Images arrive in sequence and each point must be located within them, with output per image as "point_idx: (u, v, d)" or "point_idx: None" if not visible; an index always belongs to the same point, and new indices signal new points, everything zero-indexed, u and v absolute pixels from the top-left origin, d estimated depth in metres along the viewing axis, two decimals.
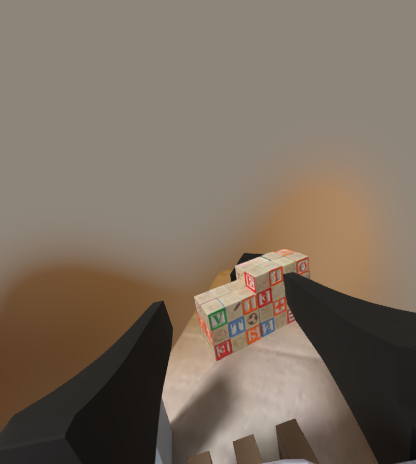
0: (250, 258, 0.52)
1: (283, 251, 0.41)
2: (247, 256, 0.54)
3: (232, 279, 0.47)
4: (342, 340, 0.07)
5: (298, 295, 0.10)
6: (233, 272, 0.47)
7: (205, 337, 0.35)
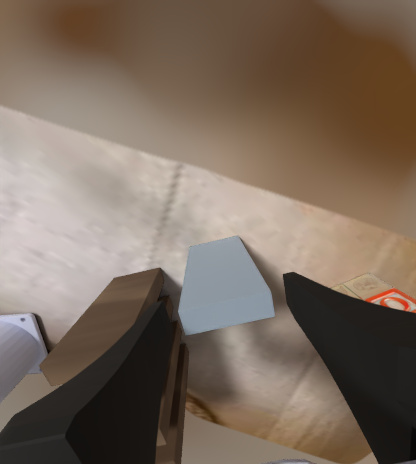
0: None
1: None
2: None
3: None
4: (342, 340, 0.07)
5: (298, 295, 0.10)
6: None
7: (361, 288, 0.20)
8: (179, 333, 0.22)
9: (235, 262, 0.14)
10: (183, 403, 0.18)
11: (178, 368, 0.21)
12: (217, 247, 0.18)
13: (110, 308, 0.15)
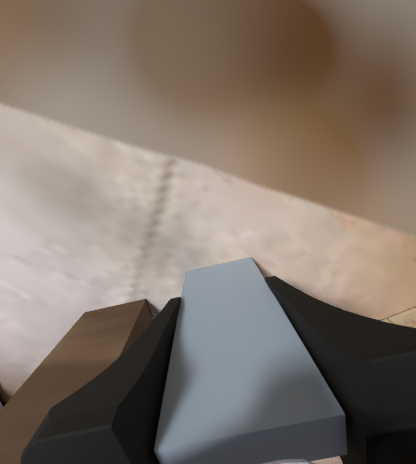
0: None
1: None
2: None
3: None
4: (311, 346, 0.07)
5: (277, 300, 0.10)
6: None
7: None
8: None
9: (255, 312, 0.09)
10: None
11: None
12: (224, 277, 0.13)
13: (62, 378, 0.10)
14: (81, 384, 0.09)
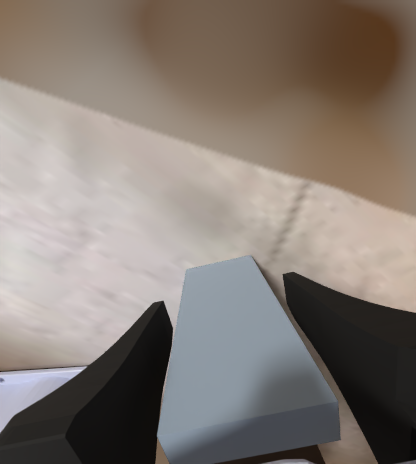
0: None
1: None
2: None
3: None
4: (342, 340, 0.07)
5: (298, 295, 0.10)
6: None
7: None
8: None
9: (254, 308, 0.09)
10: None
11: None
12: (224, 274, 0.13)
13: None
14: None
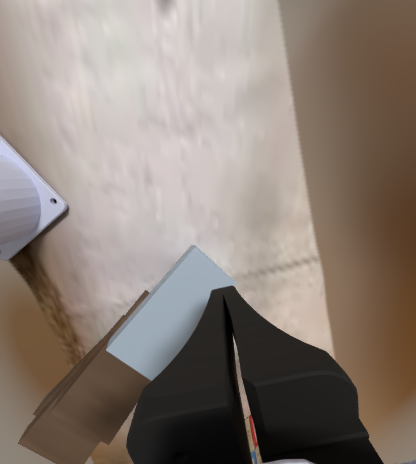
0: None
1: None
2: None
3: None
4: None
5: (227, 310, 0.10)
6: None
7: None
8: None
9: (183, 331, 0.16)
10: None
11: None
12: (204, 285, 0.17)
13: (121, 368, 0.16)
14: (130, 384, 0.16)
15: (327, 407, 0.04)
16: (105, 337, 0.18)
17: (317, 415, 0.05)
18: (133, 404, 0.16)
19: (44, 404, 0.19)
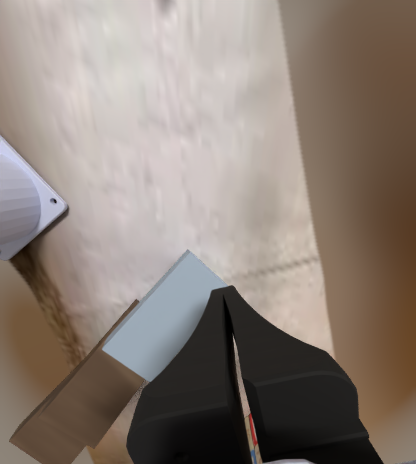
0: None
1: None
2: None
3: None
4: None
5: (227, 310, 0.10)
6: None
7: None
8: None
9: (176, 334, 0.16)
10: None
11: None
12: (198, 290, 0.17)
13: (108, 377, 0.16)
14: (116, 392, 0.16)
15: (327, 407, 0.04)
16: None
17: (317, 415, 0.05)
18: (119, 411, 0.16)
19: None
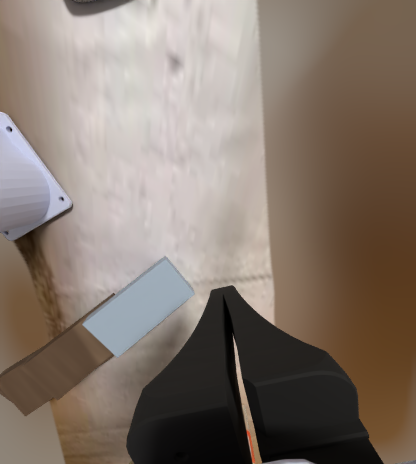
0: None
1: None
2: None
3: None
4: None
5: (227, 310, 0.10)
6: None
7: None
8: None
9: (143, 322, 0.20)
10: None
11: None
12: (167, 290, 0.21)
13: (77, 351, 0.20)
14: (81, 363, 0.21)
15: (327, 407, 0.04)
16: None
17: (317, 415, 0.05)
18: (81, 378, 0.21)
19: None
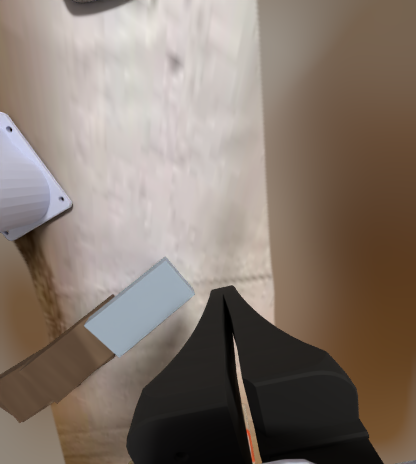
0: None
1: None
2: None
3: None
4: None
5: (227, 310, 0.10)
6: None
7: None
8: None
9: (144, 322, 0.21)
10: None
11: None
12: (167, 291, 0.21)
13: (77, 352, 0.20)
14: (81, 365, 0.21)
15: (327, 407, 0.04)
16: None
17: (317, 415, 0.05)
18: (81, 380, 0.21)
19: None
